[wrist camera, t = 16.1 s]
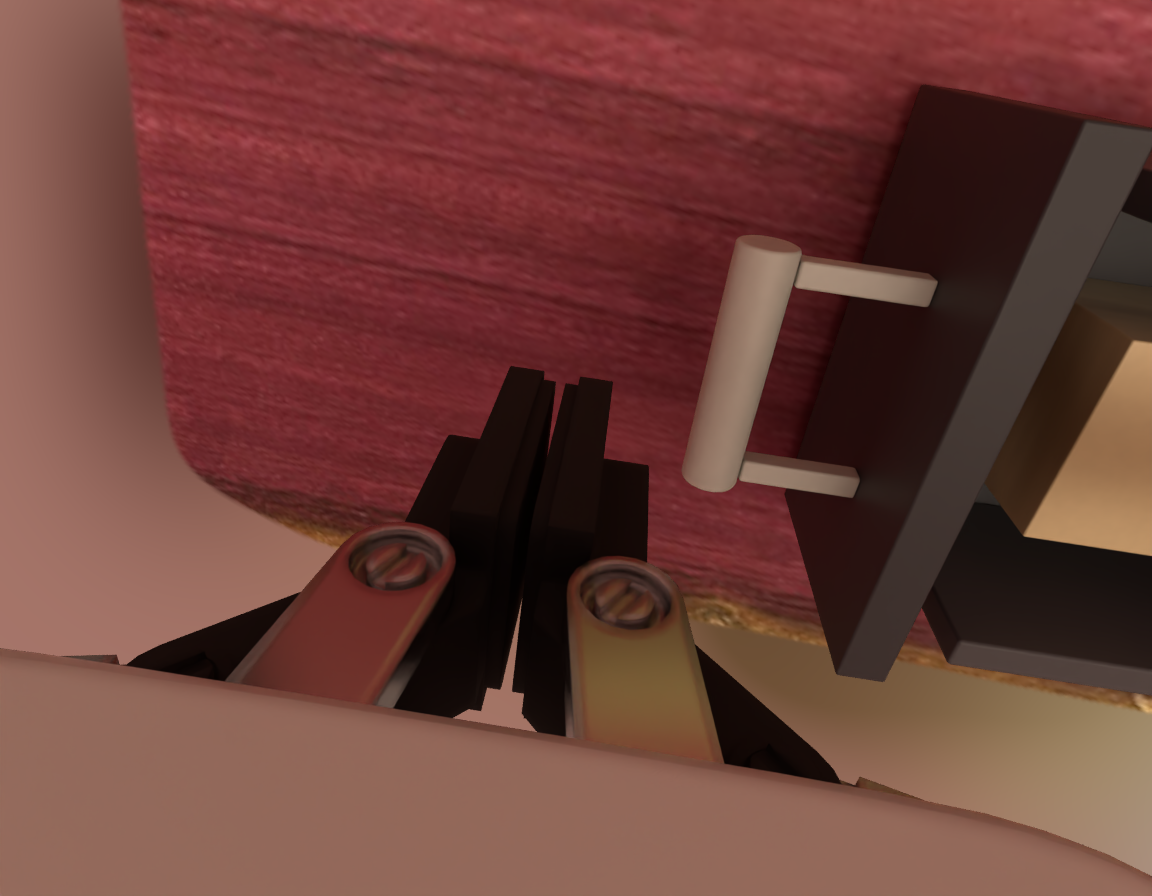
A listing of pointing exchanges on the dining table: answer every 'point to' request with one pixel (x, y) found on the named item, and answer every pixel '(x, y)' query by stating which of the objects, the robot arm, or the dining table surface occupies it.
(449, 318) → the dining table surface
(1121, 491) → the block
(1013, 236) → the pull-out tray
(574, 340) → the dining table surface
